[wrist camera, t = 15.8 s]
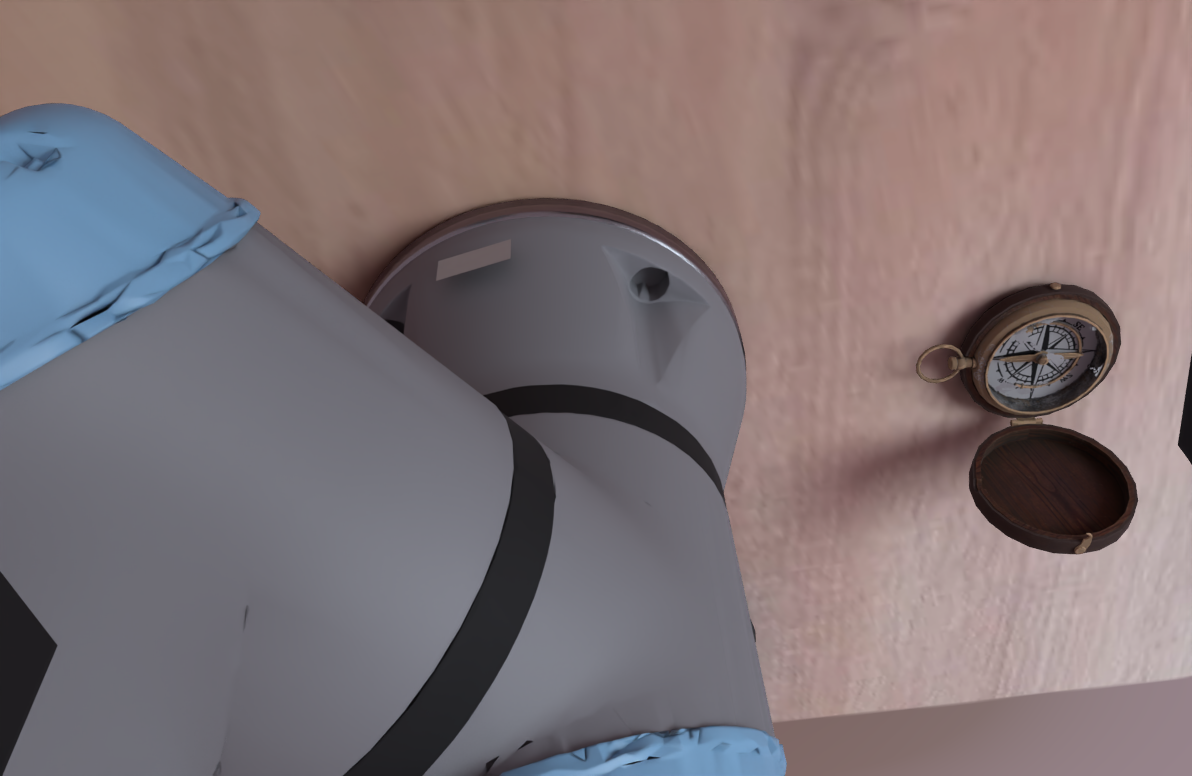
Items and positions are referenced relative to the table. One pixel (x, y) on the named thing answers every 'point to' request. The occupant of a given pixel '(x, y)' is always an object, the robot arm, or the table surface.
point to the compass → (1029, 448)
